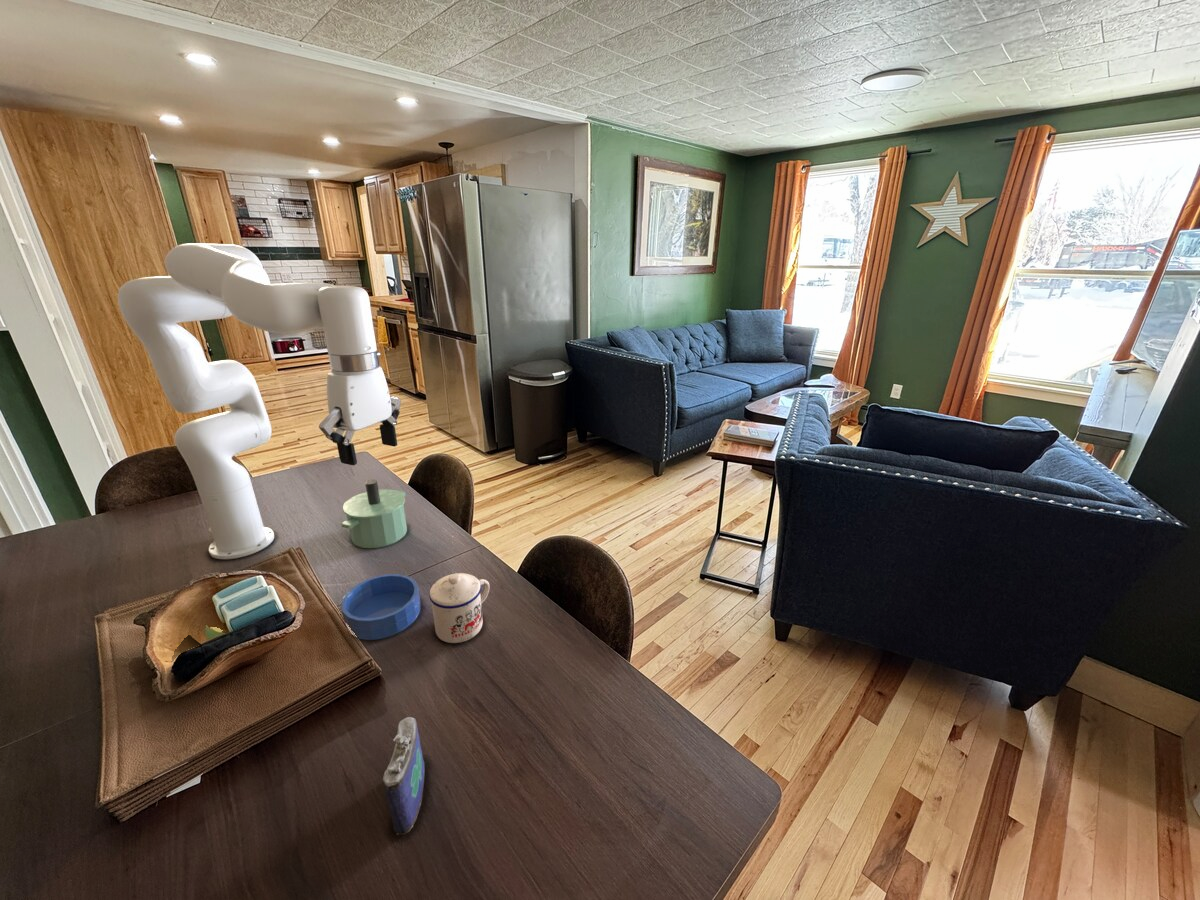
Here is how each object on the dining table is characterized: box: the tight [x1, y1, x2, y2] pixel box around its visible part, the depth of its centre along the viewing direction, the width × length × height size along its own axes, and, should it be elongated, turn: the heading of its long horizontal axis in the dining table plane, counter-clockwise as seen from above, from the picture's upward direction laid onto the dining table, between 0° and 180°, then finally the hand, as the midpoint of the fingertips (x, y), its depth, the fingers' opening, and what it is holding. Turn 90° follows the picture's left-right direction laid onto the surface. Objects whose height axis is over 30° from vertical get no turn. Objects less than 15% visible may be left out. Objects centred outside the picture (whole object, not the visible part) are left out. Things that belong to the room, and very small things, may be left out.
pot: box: [340, 490, 408, 549], centre depth 116 cm, size 13×18×8 cm
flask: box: [382, 716, 426, 836], centre depth 59 cm, size 9×3×11 cm, turn 8°
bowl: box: [340, 573, 422, 641], centre depth 91 cm, size 13×13×4 cm
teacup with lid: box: [428, 572, 491, 644], centre depth 88 cm, size 12×9×12 cm
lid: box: [342, 479, 406, 518], centre depth 114 cm, size 14×14×7 cm
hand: (370, 453), depth 87 cm, fingers open, 9 cm apart
